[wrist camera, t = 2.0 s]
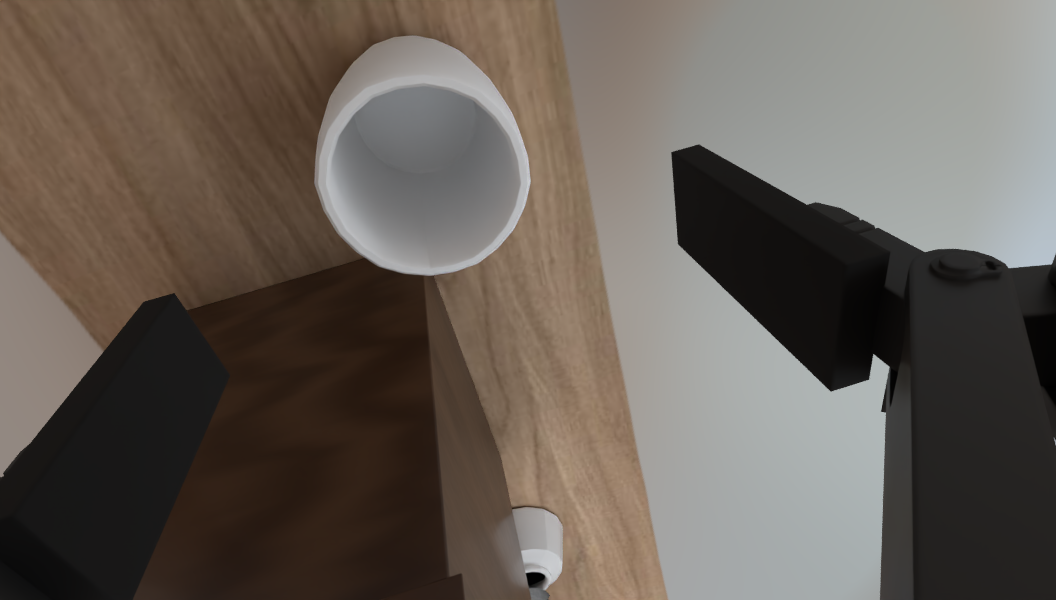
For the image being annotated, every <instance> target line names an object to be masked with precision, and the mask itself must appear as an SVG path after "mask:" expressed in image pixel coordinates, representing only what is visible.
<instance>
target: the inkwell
mask: <svg viewBox="0 0 1056 600" xmlns="http://www.w3.org/2000/svg"><path fill="white" fill-rule="evenodd" d="M512 512H513V516H514V521H515V526H516V530H517V535H518V540H519V544H520V549H521V554H522V558H523V563H524V568H525V572H526V577H527V582H528V587H529V591H530V596H531V600H548V598H549V596H550V595H549V594H548V593H547V592H546V591H545V590H546V589H547V588H548V586H549V585H551V584H552V583H553V582H554V581H556V579H557V578H558V576H559V575H560V573H561V572H562V560H563V525H562V524H561V522H560V521H559V519H558V518H557V516H556V515H554V514H552V513H550V512H549V511H547V510H545V509H543V508H534V507H522V508H516V509H512Z"/></svg>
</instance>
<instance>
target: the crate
mask: <svg viewBox="0 0 1056 600" xmlns="http://www.w3.org/2000/svg"><path fill="white" fill-rule="evenodd" d="M187 312H188V314H189V315H190V317H191V318H192V320H193V321H194V323H195V324H196V326H197V327H198V329H199V330H200V332H201V333H202V334H203V336H204V337H205V339H206V340H207V342H208V343H209V345H210V346H211V348H212V349H213V351H214V352H215V354H216V355H217V357H218V358H219V360H220V361H221V362H222V364H223V365H224V367H225V368H226V370H227V371H228V373H229V374H230V377H229V380H228V382H227V384H226V386H225V389H224V391H223V393H222V396H221V398H220V400H219V403H218V405H217V407H216V409H215V412H214V414H213V416H212V419H211V421H210V423H209V425H208V428H207V430H206V432H205V435H204V437H203V439H202V442H201V444H200V446H199V448H198V451H197V453H196V455H195V458H194V460H193V462H192V465H191V467H190V469H189V471H188V474H187V476H186V478H185V481H184V483H183V485H182V487H181V490H180V492H179V494H178V497H177V499H176V501H175V504H174V506H173V508H172V510H171V513H170V515H169V517H168V520H167V522H166V524H165V527H164V529H163V531H162V533H161V536H160V538H159V540H158V543H157V545H156V547H155V549H154V552H153V554H152V556H151V559H150V561H149V563H148V566H147V568H146V570H145V572H144V575H143V577H142V579H141V582H140V584H139V586H138V588H137V591H136V593H135V595H134V598H133V600H531V596H530V591H529V587H528V582H527V577H526V572H525V568H524V563H523V558H522V554H521V549H520V544H519V540H518V535H517V530H516V526H515V521H514V516H513V512H512V507H511V502H510V497H509V493H508V488H507V483H506V479H505V474H504V469H503V465H502V460H501V457H500V454H499V451H498V448H497V446H496V443H495V440H494V438H493V435H492V432H491V430H490V427H489V424H488V421H487V419H486V416H485V413H484V411H483V408H482V405H481V403H480V400H479V397H478V394H477V392H476V389H475V386H474V384H473V381H472V378H471V376H470V373H469V370H468V367H467V365H466V362H465V359H464V357H463V354H462V351H461V349H460V346H459V343H458V340H457V338H456V335H455V332H454V330H453V327H452V324H451V322H450V319H449V316H448V313H447V311H446V308H445V305H444V303H443V300H442V297H441V295H440V292H439V289H438V286H437V284H436V281H435V278H434V276H433V275H432V276H426V275H413V274H403V273H399V272H396V271H392V270H388V269H385V268H381V267H378V266H377V265H375V264H374V263H372V262H371V261H369V260H368V259H366V258H365V259H362V260H358V261H355V262H351V263H348V264H345V265H341V266H338V267H335V268H331V269H328V270H324V271H321V272H318V273H314V274H311V275H307V276H304V277H301V278H297V279H294V280H290V281H287V282H284V283H280V284H277V285H273V286H270V287H267V288H263V289H260V290H257V291H253V292H250V293H246V294H243V295H240V296H236V297H233V298H229V299H226V300H223V301H219V302H216V303H212V304H209V305H206V306H202V307H199V308H195V309H192V310H189V311H187Z"/></svg>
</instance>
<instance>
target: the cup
mask: <svg viewBox="0 0 1056 600" xmlns="http://www.w3.org/2000/svg"><path fill="white" fill-rule="evenodd" d="M530 183H531V181H530V172H529V162H528V155H527V152H526V149H525V146H524V143H523V140H522V138H521V135H520V132H519V129H518V126H517V124H516V121H515V119H514V116H513V114H512V112H511V110H510V109H509V107H508V106H507V104H506V102H505V101H504V99H503V98H502V96H501V95H500V93H499V92H498V90H497V89H496V87H495V86H494V85H493V83H492V82H491V80H490V79H489V78H488V77H487V76H486V75H485V74H484V73H483V72H482V71H481V70H480V69H479V68H478V67H477V66H476V65H475V64H474V63H473V62H472V61H471V60H470V59H469V58H468V57H467V56H466V55H464V54H463V53H462V52H461V51H459V50H457V49H455V48H453V47H451V46H449V45H447V44H444V43H442V42H440V41H438V40H435V39H430V38H425V37H420V36H415V35H411V36H401V37H393V38H390V39H387V40H385V41H382V42H379V43H376V44H374V45H372V46H371V47H370V48H369V49H368V50H366V51H365V52H364V53H363V54H362V55H361V56H360V57H359V58H358V59H356V60H355V61H354V62H353V63H352V65H351V66H350V67H349V68H348V70H347V71H346V73H345V74H344V76H343V77H342V79H341V80H340V82H339V83H338V85H337V86H336V88H335V89H334V91H333V93H332V94H331V96H330V98H329V101H328V104H327V108H326V111H325V114H324V118H323V121H322V124H321V128H320V131H319V135H318V140H317V149H316V160H315V181H314V184H315V187H316V190H317V193H318V196H319V199H320V202H321V205H322V208H323V210H324V212H325V214H326V215H327V217H328V219H329V220H330V222H331V224H332V225H333V227H334V229H335V231H336V232H337V234H338V235H339V236H340V237H341V238H342V239H343V240H344V241H345V242H346V243H347V244H349V245H350V246H351V247H352V248H353V249H354V250H355V251H356V252H357V253H358V254H360V255H361V256H363V257H364V258H366V259H368V260H369V261H371V262H372V263H374V264H375V265H377V266H378V267H381V268H385V269H388V270H392V271H396V272H399V273H403V274H413V275H426V276H432V275H438V274H445V273H451V272H456V271H459V270H461V269H464V268H467V267H470V266H472V265H475V264H478V263H479V262H481V261H482V260H483V259H485V258H486V257H487V256H488V255H490V254H491V253H492V252H494V251H495V250H496V249H497V248H498V247H499V246H500V245H501V244H502V243H503V242H504V240H505V239H506V238H507V237H508V236H509V235H510V233H511V232H512V231H513V230H514V228H515V226H516V224H517V222H518V220H519V218H520V216H521V214H522V211H523V209H524V207H525V204H526V199H527V195H528V191H529V187H530Z"/></svg>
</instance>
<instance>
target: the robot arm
mask: <svg viewBox="0 0 1056 600" xmlns="http://www.w3.org/2000/svg"><path fill="white" fill-rule="evenodd" d="M672 168H673V180H674V181H673V182H674V194H675V207H676V208H675V209H676V223H677V237H678V244H679V246H681V247H682V248H683V249H684V250H685V251H686V252H687V253H688V254H689V255H690V256H691V257H692V258H693V259H694V260H695V261H696V262H697V263H698V264H699V265H700V266H701V267H702V268H703V269H704V270H705V271H706V272H708V274H710V275H711V276H712V277H713V278H714V279H715V280H716V281H717V282H718V283H719V284H720V285H721V286H722V287H723V288H724V289H725V290H726V291H727V292H728V293H729V294H730V295H731V296H732V297H733V298H734V299H735V300H737V301H738V302H739V303H740V304H741V305H742V306H743V307H744V308H745V309H746V310H747V311H748V312H749V313H750V314H751V315H752V316H753V317H754V318H755V319H756V320H757V321H758V322H759V323H760V324H761V325H763V327H765V328H766V329H767V330H768V331H769V332H770V333H771V334H772V335H773V336H774V337H775V338H776V339H777V340H778V341H779V342H780V343H781V344H782V345H783V346H784V347H785V348H786V349H787V350H788V351H789V352H791V353H792V354H793V355H794V356H795V357H796V358H797V359H798V360H799V361H800V362H801V363H802V364H803V365H804V366H805V367H806V368H807V369H808V370H809V371H810V372H811V373H812V374H813V375H814V376H815V377H816V378H817V379H819V381H821V382H822V383H823V384H824V385H825V386H826V387H827V388H828V389H829V390H830V391H834V390H837V389H841V388H844V387H847V386H850V385H853V384H856V383H859V382H863V381H866V380H869V376H870V370H871V364H872V358H873V354H874V355H876V356H877V357H878V358H879V359H881V360H882V361H883V362H884V363H886V364H887V365H888V366H889V367H890V368H889V373H888V379H887V384H886V389H885V394H884V399H883V405H882V410H881V412H886V428H885V429H886V430H885V459H884V492H883V493H884V494H883V523H882V525H883V526H882V556H881V588H880V600H1056V445H1055V441H1054V438H1055V440H1056V255H1055V258H1054V260H1053V263H1052V265H1042V266H1030V267H1019V268H1008V267H1007V266H1006V264H1005V263H1003V262H1001V261H999V260H998V259H995V258H994V257H992V256H989V255H985V254H982V253H979V252H975V251H968V250H960V249H938V250H933V251H929V252H923V251H921V250H919V249H917V248H916V247H914V246H912V245H910V244H908V243H906V242H904V241H902V240H900V239H898V238H897V237H895V236H893V235H891V234H889V233H887V232H885V231H883V230H881V229H879V228H876V229H875V227H874V225H871V224H870V223H868V222H866V221H864V220H859V218H858V217H857V216H854V215H852V214H851V213H849V212H847V211H845V210H843V209H841V208H837V207H833V206H829V205H825V204H821V203H812V204H809V205H806V204H804V203H803V202H801V201H799V200H797V199H795V198H793V197H792V196H790V195H788V194H786V193H785V192H783V191H781V190H779V189H777V188H776V187H774V186H772V185H770V184H769V183H767V182H765V181H763V180H761V179H759V178H758V177H756V176H754V175H752V174H751V173H749V172H747V171H745V170H743V169H742V168H740V167H738V166H736V165H735V164H733V163H731V162H729V161H727V160H726V159H724V158H722V157H720V156H718V155H717V154H715V153H713V152H711V151H709V150H708V149H706V148H704V147H702V146H701V145H695V146H692V147H688V148H685V149H681V150H678V151H674V152H672ZM229 377H230V374H229V373H228V371H227V370H226V368H225V367H224V365H223V364H222V362H221V361H220V360H219V358H218V357H217V355H216V354H215V352H214V351H213V349H212V348H211V346H210V345H209V343H208V342H207V340H206V339H205V337H204V336H203V334H202V333H201V332H200V330H199V329H198V327H197V326H196V324H195V323H194V321H193V320H192V318H191V317H190V315H189V314H188V312H187V311H186V309H185V308H184V306H183V305H182V304H181V302H180V301H179V299H178V298H177V296H176V295H175V293H173V294H170V295H166V296H163V297H159V298H156V299H152V300H148V301H145V302H143V303H142V305H141V306H140V307H139V308H138V310H137V311H136V312H135V313H134V315H133V316H132V317H131V318H130V320H129V321H128V322H127V323H126V325H125V326H124V327H123V328H122V330H121V331H120V332H119V333H118V335H117V336H116V337H115V338H114V340H113V341H112V342H111V343H110V345H109V346H108V347H107V348H106V350H105V351H104V352H103V353H102V355H101V356H100V357H99V358H98V360H97V361H96V362H95V363H94V365H93V366H92V367H91V368H90V370H89V371H88V372H87V373H86V375H85V376H84V377H83V378H82V379H81V381H80V382H79V383H78V385H77V386H76V387H75V388H74V389H73V391H72V392H71V393H70V394H69V396H68V397H67V398H66V399H65V401H64V402H63V403H62V405H61V406H60V407H59V408H58V409H57V411H56V412H55V413H54V414H53V416H52V417H51V418H50V419H49V421H48V422H47V423H46V424H45V426H44V427H43V428H42V429H41V431H40V432H39V433H38V434H37V436H36V437H35V438H34V439H33V441H32V442H31V443H30V444H29V445H28V446H27V447H26V448H24V449H23V450H22V451H21V452H20V453H19V454H18V456H17V457H16V458H15V460H14V461H13V462H12V463H11V464H10V465H9V467H8V468H7V469H6V470H5V472H4V473H3V474H4V477H0V600H133V598H134V595H135V593H136V591H137V588H138V586H139V584H140V582H141V579H142V577H143V575H144V572H145V570H146V568H147V566H148V563H149V561H150V559H151V556H152V554H153V552H154V549H155V547H156V545H157V543H158V540H159V538H160V536H161V533H162V531H163V529H164V527H165V524H166V522H167V520H168V517H169V515H170V513H171V510H172V508H173V506H174V504H175V501H176V499H177V497H178V494H179V492H180V490H181V487H182V485H183V483H184V481H185V478H186V476H187V474H188V471H189V469H190V467H191V465H192V462H193V460H194V458H195V455H196V453H197V451H198V448H199V446H200V444H201V442H202V439H203V437H204V435H205V432H206V430H207V428H208V425H209V423H210V421H211V419H212V416H213V414H214V412H215V409H216V407H217V405H218V403H219V400H220V398H221V396H222V393H223V391H224V389H225V386H226V384H227V382H228V380H229Z"/></svg>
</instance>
